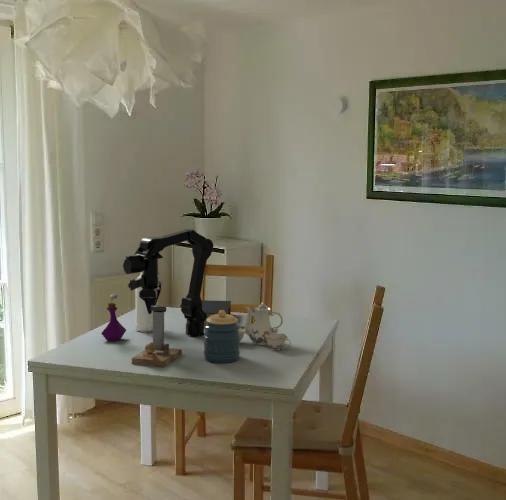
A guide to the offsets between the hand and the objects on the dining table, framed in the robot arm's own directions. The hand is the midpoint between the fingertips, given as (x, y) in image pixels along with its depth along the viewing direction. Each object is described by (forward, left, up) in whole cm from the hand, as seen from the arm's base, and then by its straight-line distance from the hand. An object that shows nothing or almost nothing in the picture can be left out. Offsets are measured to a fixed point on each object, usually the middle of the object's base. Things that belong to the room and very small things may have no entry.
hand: (151, 310), depth 253 cm
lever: (+4, +19, -10) cm, 22 cm away
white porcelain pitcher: (-43, -2, -13) cm, 45 cm away
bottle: (-4, -21, -13) cm, 25 cm away
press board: (+4, +19, -13) cm, 23 cm away
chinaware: (-37, +18, -13) cm, 43 cm away
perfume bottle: (+12, -11, -13) cm, 21 cm away
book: (-35, -25, -13) cm, 45 cm away
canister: (-16, +29, -13) cm, 36 cm away
